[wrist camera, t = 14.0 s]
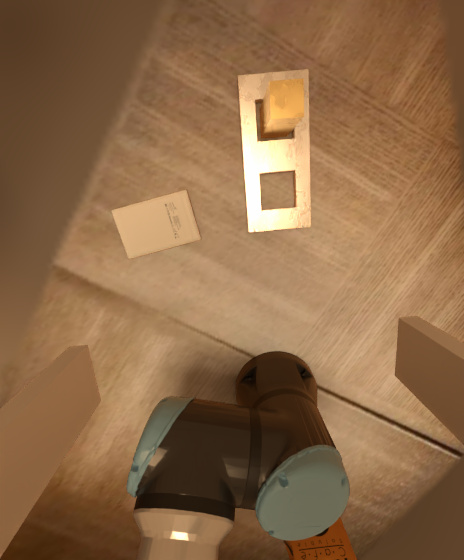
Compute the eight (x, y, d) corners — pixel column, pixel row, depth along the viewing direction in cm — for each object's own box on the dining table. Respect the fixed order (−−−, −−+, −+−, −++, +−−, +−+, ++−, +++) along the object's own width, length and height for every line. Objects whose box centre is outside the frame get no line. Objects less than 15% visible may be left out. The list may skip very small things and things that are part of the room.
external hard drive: (114, 210, 46) (187, 189, 46) (131, 257, 48) (201, 239, 48) (110, 210, 45) (185, 189, 44) (128, 259, 47) (200, 240, 46)
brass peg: (286, 136, 44) (304, 116, 34) (260, 138, 44) (270, 119, 34) (286, 107, 42) (303, 78, 33) (259, 109, 42) (269, 81, 33)
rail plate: (308, 226, 47) (310, 226, 46) (248, 231, 47) (248, 232, 46) (305, 74, 41) (308, 69, 40) (237, 80, 41) (237, 75, 40)
